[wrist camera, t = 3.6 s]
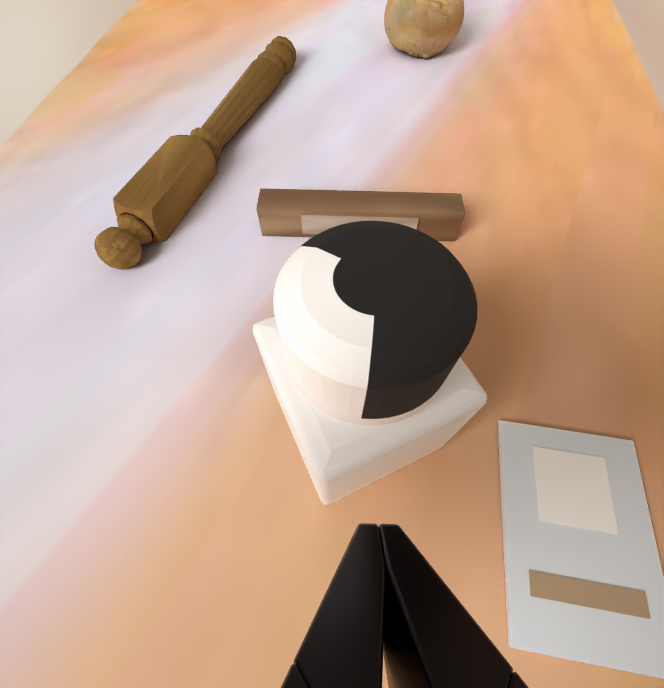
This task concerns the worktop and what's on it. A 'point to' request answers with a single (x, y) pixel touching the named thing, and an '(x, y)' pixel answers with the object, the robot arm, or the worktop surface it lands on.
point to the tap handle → (187, 164)
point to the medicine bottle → (370, 351)
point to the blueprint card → (579, 550)
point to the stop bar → (357, 211)
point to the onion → (423, 25)
